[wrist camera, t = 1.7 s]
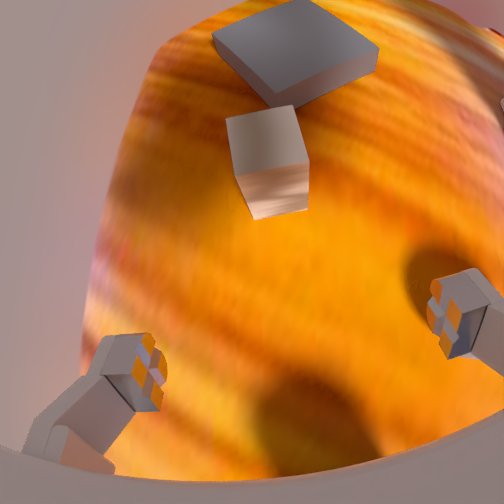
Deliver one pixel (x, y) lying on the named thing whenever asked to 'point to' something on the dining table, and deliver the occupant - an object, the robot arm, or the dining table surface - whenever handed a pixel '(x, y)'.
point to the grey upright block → (270, 161)
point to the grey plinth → (295, 52)
